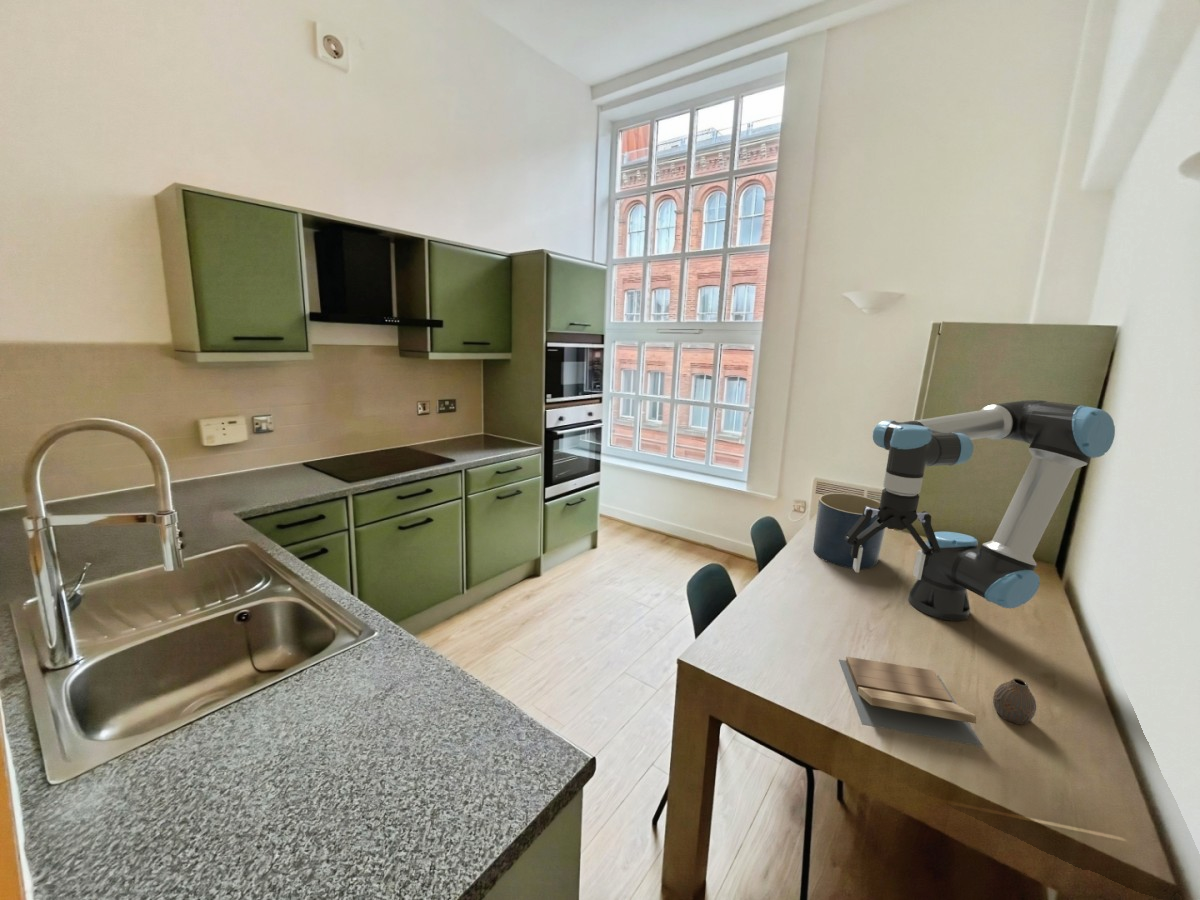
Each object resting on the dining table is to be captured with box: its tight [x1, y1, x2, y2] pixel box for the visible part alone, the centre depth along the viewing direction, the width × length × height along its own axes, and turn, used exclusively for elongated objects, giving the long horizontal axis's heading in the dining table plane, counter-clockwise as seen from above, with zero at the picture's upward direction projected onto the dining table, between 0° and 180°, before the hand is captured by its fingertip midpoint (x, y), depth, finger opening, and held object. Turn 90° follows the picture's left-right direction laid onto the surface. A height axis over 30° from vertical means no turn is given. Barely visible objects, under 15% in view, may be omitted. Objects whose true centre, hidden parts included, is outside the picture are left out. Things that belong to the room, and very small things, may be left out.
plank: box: [858, 687, 977, 724], centre depth 103 cm, size 19×9×2 cm, turn 77°
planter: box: [813, 492, 886, 570], centre depth 177 cm, size 22×22×20 cm
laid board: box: [845, 656, 953, 703], centre depth 113 cm, size 19×10×2 cm, turn 77°
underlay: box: [838, 659, 984, 748], centre depth 109 cm, size 22×21×1 cm
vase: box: [992, 677, 1037, 725], centre depth 104 cm, size 7×7×9 cm
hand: (885, 573), depth 120 cm, fingers open, 13 cm apart
